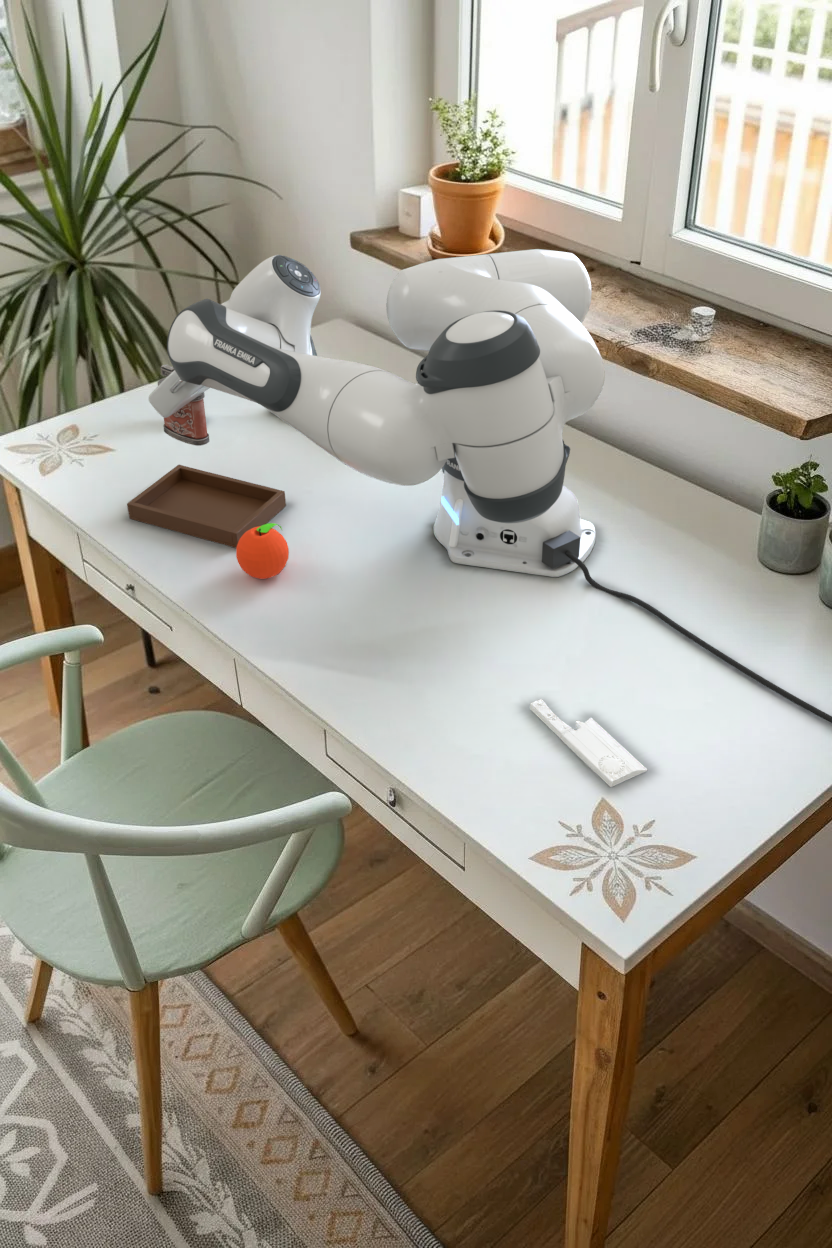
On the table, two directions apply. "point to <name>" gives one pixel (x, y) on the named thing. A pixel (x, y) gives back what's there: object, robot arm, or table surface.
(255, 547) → the clementine
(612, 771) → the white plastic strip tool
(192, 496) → the tray
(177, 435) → the lighter
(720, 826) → the table surface
